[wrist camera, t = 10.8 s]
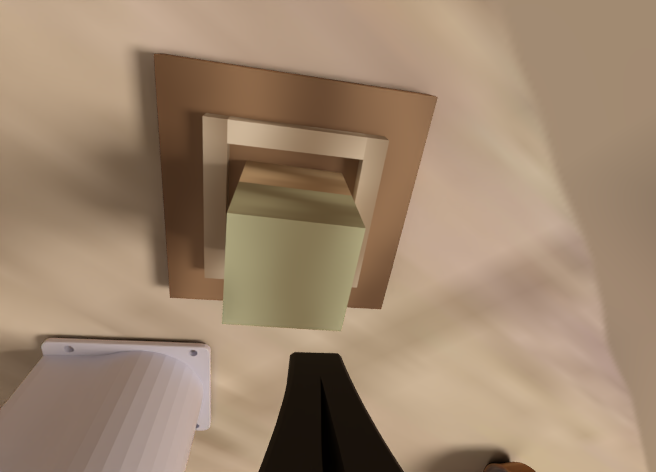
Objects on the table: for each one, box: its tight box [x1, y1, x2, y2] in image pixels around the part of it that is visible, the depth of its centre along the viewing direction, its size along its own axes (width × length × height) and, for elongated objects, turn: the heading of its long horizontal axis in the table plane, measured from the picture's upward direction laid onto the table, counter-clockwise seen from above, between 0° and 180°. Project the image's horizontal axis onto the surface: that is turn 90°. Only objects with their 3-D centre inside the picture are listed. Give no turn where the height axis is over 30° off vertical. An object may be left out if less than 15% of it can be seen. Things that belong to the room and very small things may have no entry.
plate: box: [154, 54, 438, 309], centre depth 18 cm, size 12×12×2 cm
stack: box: [222, 160, 366, 331], centre depth 15 cm, size 4×4×6 cm
